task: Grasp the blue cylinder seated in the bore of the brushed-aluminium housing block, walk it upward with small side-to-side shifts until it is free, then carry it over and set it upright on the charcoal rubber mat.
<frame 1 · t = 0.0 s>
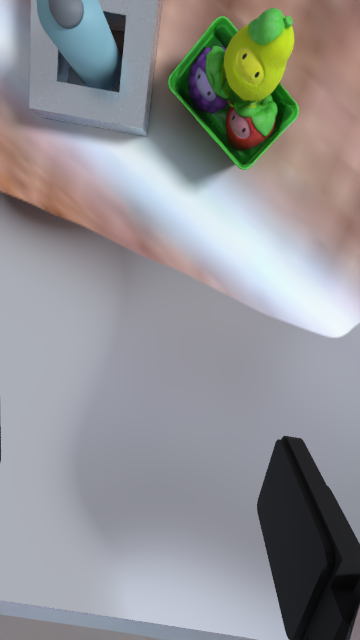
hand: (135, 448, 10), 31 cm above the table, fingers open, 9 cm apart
fruit basket: (231, 111, 35), on the table
housing: (99, 64, 33), on the table
blue cylinder: (84, 38, 29), in the housing
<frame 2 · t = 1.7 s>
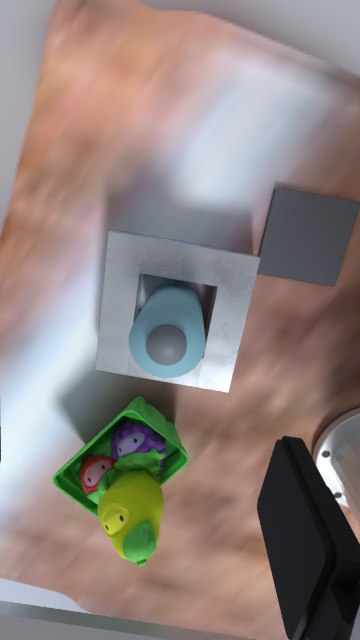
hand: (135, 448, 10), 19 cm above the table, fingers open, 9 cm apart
fruit basket: (134, 437, 33), on the table
mat: (304, 238, 26), on the table
housing: (174, 308, 29), on the table
blue cylinder: (171, 323, 24), in the housing
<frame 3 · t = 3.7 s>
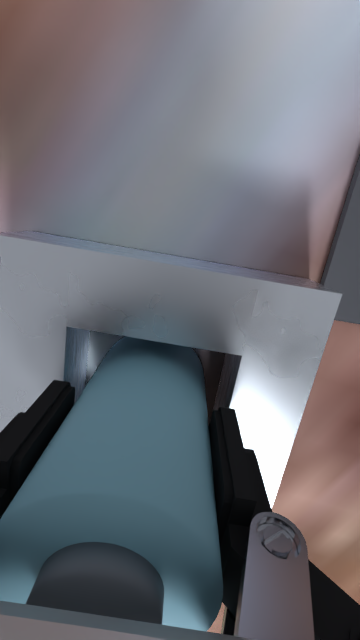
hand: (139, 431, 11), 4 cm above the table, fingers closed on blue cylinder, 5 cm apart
housing: (152, 379, 15), on the table
blue cylinder: (135, 447, 10), in the housing, touching gripper
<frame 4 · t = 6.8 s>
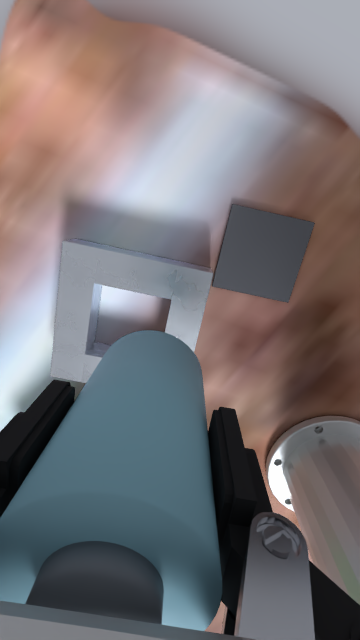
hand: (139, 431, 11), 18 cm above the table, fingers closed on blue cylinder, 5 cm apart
mat: (260, 255, 27), on the table
housing: (132, 317, 29), on the table
blue cylinder: (134, 447, 10), point 19 cm above the table, touching gripper
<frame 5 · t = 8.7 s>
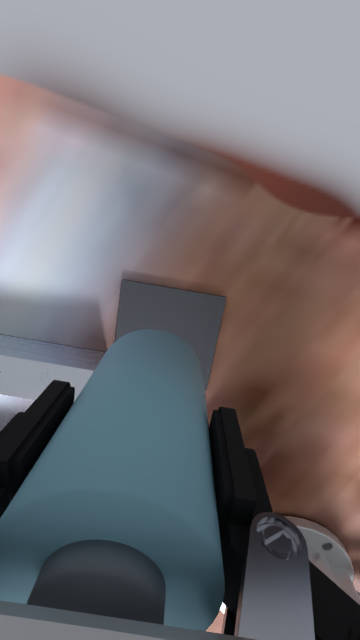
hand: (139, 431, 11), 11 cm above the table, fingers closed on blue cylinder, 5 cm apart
mat: (166, 336, 22), on the table
housing: (23, 410, 24), on the table
blue cylinder: (135, 446, 10), point 12 cm above the table, touching gripper
when the fingers open (5 cm above the table, at t = 10.1 s): blue cylinder stays where it is, resting on mat.
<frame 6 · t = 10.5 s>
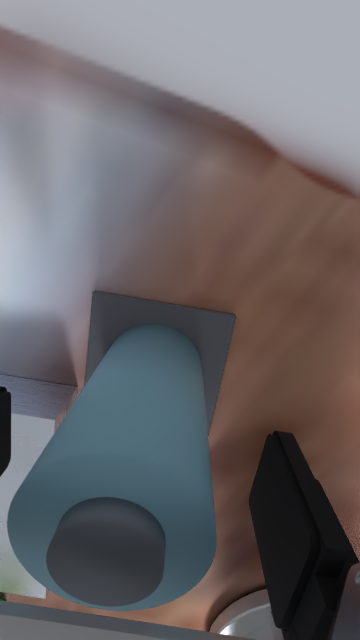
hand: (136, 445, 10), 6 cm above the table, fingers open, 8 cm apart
mat: (155, 366, 16), on the table
blue cylinder: (139, 428, 11), on the mat
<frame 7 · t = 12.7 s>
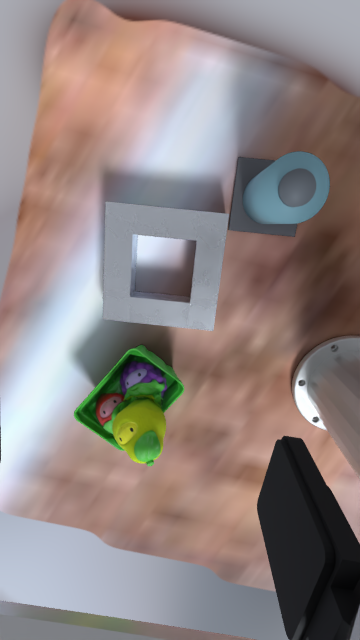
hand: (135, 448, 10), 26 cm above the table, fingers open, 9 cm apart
fruit basket: (139, 382, 39), on the table
mat: (266, 198, 32), on the table
housing: (164, 265, 34), on the table
blue cylinder: (280, 194, 27), on the mat
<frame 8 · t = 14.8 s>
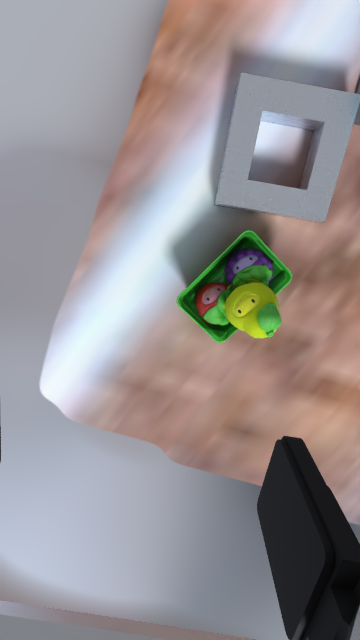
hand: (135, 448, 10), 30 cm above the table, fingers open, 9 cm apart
fruit basket: (231, 284, 39), on the table
housing: (277, 157, 35), on the table
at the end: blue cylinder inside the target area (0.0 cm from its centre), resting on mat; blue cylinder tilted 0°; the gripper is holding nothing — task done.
